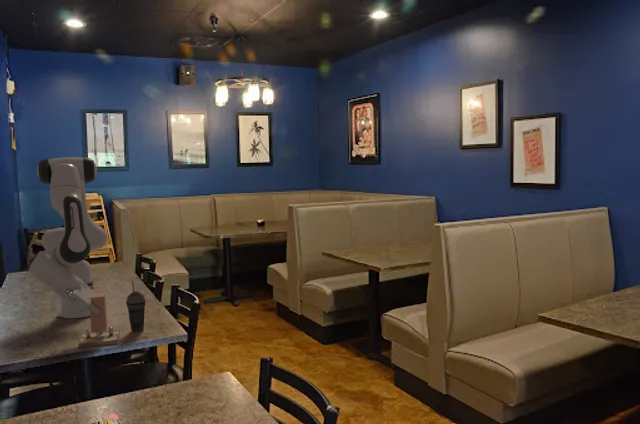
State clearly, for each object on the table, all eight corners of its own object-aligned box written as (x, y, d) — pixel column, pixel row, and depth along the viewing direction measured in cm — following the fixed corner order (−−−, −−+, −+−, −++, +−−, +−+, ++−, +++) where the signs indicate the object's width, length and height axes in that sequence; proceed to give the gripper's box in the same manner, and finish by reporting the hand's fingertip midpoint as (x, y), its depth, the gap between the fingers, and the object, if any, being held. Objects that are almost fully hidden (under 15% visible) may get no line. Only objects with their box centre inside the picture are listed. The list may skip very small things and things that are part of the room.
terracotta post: (92, 328, 197) (90, 294, 196) (107, 327, 199) (105, 293, 198) (91, 332, 192) (89, 297, 191) (106, 330, 194) (103, 296, 193)
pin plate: (83, 337, 200) (82, 325, 200) (119, 333, 204) (119, 321, 204) (78, 348, 188) (77, 336, 188) (117, 343, 192) (116, 331, 191)
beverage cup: (138, 334, 202) (135, 283, 200) (123, 332, 204) (120, 282, 203) (151, 328, 209) (148, 279, 207) (136, 327, 211) (133, 278, 209)
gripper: (71, 286, 182) (103, 310, 186) (79, 275, 201) (108, 297, 205) (58, 300, 181) (90, 324, 185) (67, 287, 200) (96, 309, 204)
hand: (100, 310), depth 195 cm, fingers closed on terracotta post, 5 cm apart
